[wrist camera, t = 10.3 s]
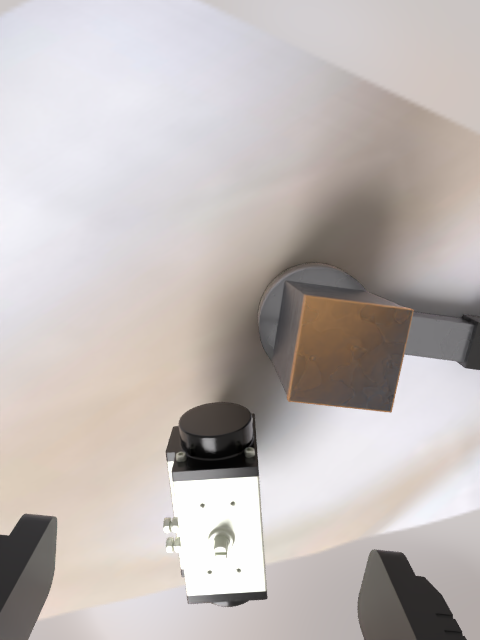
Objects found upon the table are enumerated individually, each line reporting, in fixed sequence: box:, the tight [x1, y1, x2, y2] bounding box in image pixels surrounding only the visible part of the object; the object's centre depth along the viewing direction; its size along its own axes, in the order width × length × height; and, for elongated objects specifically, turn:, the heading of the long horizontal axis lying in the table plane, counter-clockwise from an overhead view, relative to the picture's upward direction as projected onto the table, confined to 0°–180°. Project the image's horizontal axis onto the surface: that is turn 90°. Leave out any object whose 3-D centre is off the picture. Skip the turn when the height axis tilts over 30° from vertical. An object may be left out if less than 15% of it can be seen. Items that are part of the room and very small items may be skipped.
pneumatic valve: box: [163, 402, 267, 607], centre depth 30 cm, size 6×12×12 cm, turn 4°
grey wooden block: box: [272, 280, 414, 412], centre depth 27 cm, size 6×6×7 cm
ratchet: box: [258, 263, 480, 370], centre depth 30 cm, size 21×8×6 cm, turn 82°
